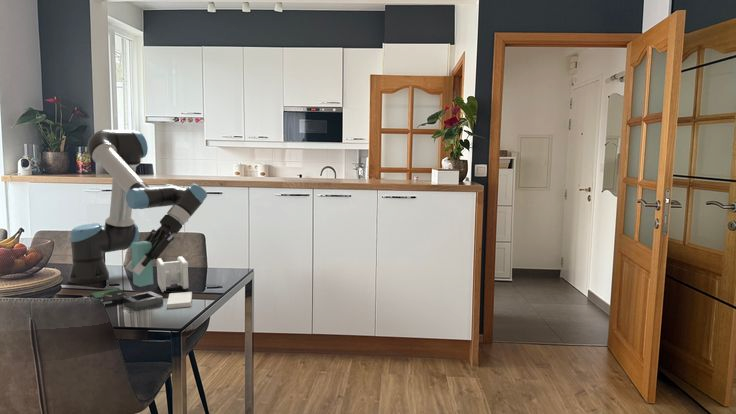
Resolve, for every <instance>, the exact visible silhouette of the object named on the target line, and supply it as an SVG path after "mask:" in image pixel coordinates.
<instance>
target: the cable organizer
mask: <svg viewBox="0 0 736 414" xmlns="http://www.w3.org/2000/svg"><path fill="white" fill-rule="evenodd" d="M188 268H189V262H188V261H187V260H186V259H185V258H184V257H183V256H182V255H181V256H180V255H179V256H177V259H176V260H175V261H163V259H162V257H160V258H159V257H158V258H157V259H156V273H157V285H158V287H159V289H160V292H161V293H165V292H166V291H167V288H169V287H170V288H171V286H172V285H177V286H181V288H182V289H183V290H187V289H189V270H188ZM164 291H165V292H164Z"/></svg>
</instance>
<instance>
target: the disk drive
mask: <svg viewBox="0 0 736 414" xmlns="http://www.w3.org/2000/svg"><path fill="white" fill-rule="evenodd" d="M89 294H90V295H89V296H90V297H96V298H100V300H101V301H102V302H103V303H104V304H105V306H106V307H110V306H111V307H112V306H115V305H116V306H117V305H123V297H125V296H129V295H128V294H126V292H124V291H123V290H122V289H120V288H112V289H105V290H100V291H95V292H92V291H91V293H89ZM90 297H89V298H90Z"/></svg>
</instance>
